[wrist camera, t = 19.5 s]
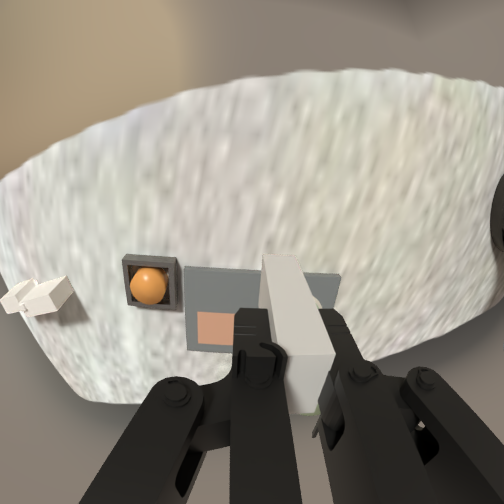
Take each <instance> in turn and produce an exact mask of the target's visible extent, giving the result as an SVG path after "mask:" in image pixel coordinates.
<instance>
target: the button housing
mask: <svg viewBox="0 0 504 504" xmlns="http://www.w3.org/2000/svg"><path fill="white" fill-rule="evenodd" d="M122 265H123V274H124V282H125V289H126V296H127V303H128V305H131V306H140V307H150V308H160V309H171V310H176V307H177V304H178V298H177V273H176V257H162V256H147V255H133V254H126V255H125V256H124V257H123V259H122ZM132 265H136V266H149V267H163V268H168V272H169V292H170V298H162V300H161V301H160V302H158V303H156V304H153V305H148V304H144V303H142V302H140V301H138V300H137V299H136V298H135V297H134V296H133V294H132V292H131V289H130V283H131V280H132V279H133V271H132Z"/></svg>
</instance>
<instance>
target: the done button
mask: <svg viewBox="0 0 504 504" xmlns="http://www.w3.org/2000/svg"><path fill="white" fill-rule="evenodd" d="M168 281H169V280H168V276H167V274H166V272H165V271H164V270H163V269H162V268H161V267H149V266H141V267H140V268H139V269H138V271H137V272H136V274H135V275H134V277H133V279H132V280H131V283H130V289H131V292H132V294H133V296H134V297H135V298H136V299H137V300H138V301H140V302H142V303H144V304H148V305H153V304H156V303H158V302H160V301H161V300H162V298H163V296H164V294H165V291H166V289H167V286H168Z"/></svg>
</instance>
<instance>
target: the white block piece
mask: <svg viewBox="0 0 504 504" xmlns="http://www.w3.org/2000/svg"><path fill="white" fill-rule="evenodd" d="M73 292H74V289H73V287H72V285H71V283H70V281H69V279H68V277H67V276H64V277H60V278H57V279H54V280H51V281H48V282H45V283H41V284H39V283H38V281H37V280H34V279H33V278H32V279H29V280H26V281H24V282H21V283H18V284H16V285H15V286H14V287H13V288H12V289H11V290H10V291H9V292H8V293H7V294H5V295H4V296H3V298H1V299H0V302H1V304H2V305H3V307H4V309H5V311H6V313H7V314H10V313H14V312H18V311H24V313H25V314H26V316H27V317H32V316H36V315H41V314H46V313H50V312H55V311H58V310H59V309H60V307H61V306H62V305H63V304H64V302H65V301H66V300H67V299H68V298H69V296H70V295H71V294H72V293H73Z"/></svg>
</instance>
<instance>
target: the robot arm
mask: <svg viewBox="0 0 504 504" xmlns="http://www.w3.org/2000/svg"><path fill="white" fill-rule="evenodd" d="M491 233H492V238H493V241H494V243H495V245H496V247H497V248H498V249H500V250H502V251H503V252H504V175H503V176H502V178H501V180H500V182H499V184H498V186H497V189H496V192H495V196H494V200H493V205H492V212H491ZM258 306H259V308H239V310H238V311H237V312H236V314H235V315H234V331H233V356H232V368H231V370H230V372H229V374H228V375H227V376H226V377H225V378H223V379H222V380H220V381H218V382H215V383H211V384H206V385H201V386H199V385H198V384H197V383H196V382H195V381H192V380H190V379H188V378H185V377H177V376H176V377H169V378H165V379H163V380H161V381H159V382H157V383H156V384H155V385H154V386H153V387H152V389H151V390H150V392H149V393H148V395H147V397H146V398H145V400H144V401H143V403H142V404H141V406H140V407H139V409H138V411H137V412H136V414H135V415H134V417H133V418H132V420H131V421H130V423H129V425H128V426H127V428H126V429H125V431H124V433H123V434H122V436H121V437H120V439H119V440H118V442H117V444H116V445H115V446H114V448H113V450H112V451H111V453H110V455H109V456H108V457H107V459H106V461H105V462H104V464H103V465H102V467H101V469H100V470H99V472H98V473H97V475H96V477H95V478H94V480H93V481H92V483H91V485H90V486H89V488H88V489H87V491H86V492H85V494H84V496H83V497H82V499H81V501H80V502H79V504H186V503H187V500H188V498H189V495H190V493H191V490H192V488H193V485H194V483H195V480H196V478H197V476H198V473H199V471H200V468H201V466H202V463H203V461H204V458H205V456H206V453H207V451H209V450H214V449H218V448H223V447H227V446H230V504H302V498H301V491H300V484H299V477H298V470H297V463H296V457H295V450H294V444H293V437H292V430H291V424H290V417H289V414H302V413H314V412H315V409H316V407H317V404H318V405H319V409H320V413H321V415H320V417H319V419H318V421H317V423H316V426H315V428H314V430H313V432H312V438H315V437H316V435H317V433H318V431H319V435H320V439H321V444H322V449H323V453H324V457H325V463H326V467H327V472H328V477H329V482H330V487H331V492H332V497H333V502H334V504H504V445H503V444H502V443H501V442H500V440H499V439H498V438H497V437H496V436H495V435H494V433H493V432H492V431H491V430H490V429H489V428H488V427H487V426H486V424H485V423H484V422H483V421H482V420H481V419H480V418H479V417H478V416H477V414H476V413H475V412H474V411H473V410H472V409H471V408H470V407H469V406H468V405H467V404H466V403H465V402H464V400H463V399H462V398H461V397H460V396H459V395H458V394H457V393H456V392H455V391H454V390H453V389H452V388H451V387H450V386H449V385H448V383H447V382H446V381H445V380H444V379H443V378H442V377H441V376H440V375H439V374H438V373H436V372H435V371H434V370H432V369H429V368H427V367H416V368H413V369H411V370H410V371H409V372H408V374H407V376H406V377H405V378H402V377H394V376H386V375H383V374H382V373H381V371H380V370H379V368H378V367H377V366H376V365H375V364H373V363H372V362H370V361H367V360H364V359H363V357H362V355H361V353H360V351H359V349H358V347H357V345H356V343H355V341H354V339H353V337H352V335H351V334H350V331H349V328H348V327H347V325H346V323H345V321H344V319H343V317H342V315H340V314H339V313H338V312H337V311H336V310H335V309H318V308H317V306H316V303H315V301H314V298H313V296H312V293H311V291H310V289H309V286H308V284H307V281H306V279H305V277H304V274H303V272H302V270H301V267H300V265H299V263H298V260H297V258H296V256H295V255H277V254H263V259H262V270H261V281H260V292H259V303H258ZM420 421H422V422H423V424H424V425H425V427H424V428H422V427H420V426H418V424H419V422H420Z"/></svg>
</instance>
